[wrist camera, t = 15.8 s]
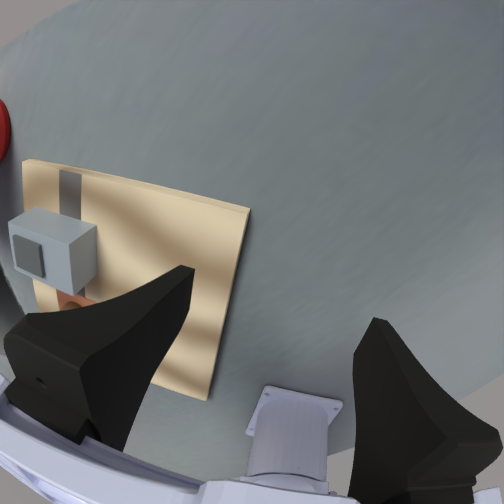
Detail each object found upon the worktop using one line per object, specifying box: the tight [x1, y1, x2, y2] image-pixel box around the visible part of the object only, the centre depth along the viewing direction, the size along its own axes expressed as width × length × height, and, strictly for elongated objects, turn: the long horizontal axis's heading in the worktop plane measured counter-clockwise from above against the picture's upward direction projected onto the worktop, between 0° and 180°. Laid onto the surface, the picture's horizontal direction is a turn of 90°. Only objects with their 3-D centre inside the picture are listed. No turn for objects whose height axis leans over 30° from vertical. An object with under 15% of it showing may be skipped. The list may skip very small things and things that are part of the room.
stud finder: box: [8, 207, 97, 296], centre depth 22 cm, size 4×7×4 cm, turn 77°
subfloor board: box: [22, 159, 250, 401], centre depth 26 cm, size 20×20×1 cm
